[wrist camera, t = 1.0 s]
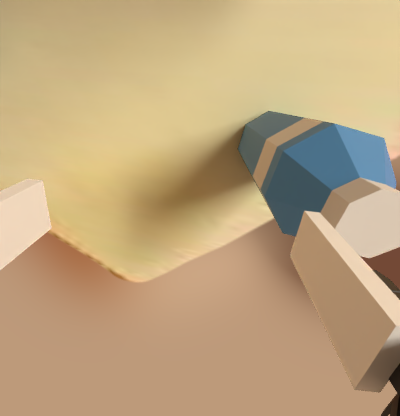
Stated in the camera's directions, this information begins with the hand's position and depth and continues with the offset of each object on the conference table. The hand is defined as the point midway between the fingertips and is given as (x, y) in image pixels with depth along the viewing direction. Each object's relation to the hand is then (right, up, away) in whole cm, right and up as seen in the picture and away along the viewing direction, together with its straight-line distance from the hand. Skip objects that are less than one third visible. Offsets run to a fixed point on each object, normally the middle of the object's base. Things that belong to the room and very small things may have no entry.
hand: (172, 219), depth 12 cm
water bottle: (+12, +10, +23) cm, 28 cm away
